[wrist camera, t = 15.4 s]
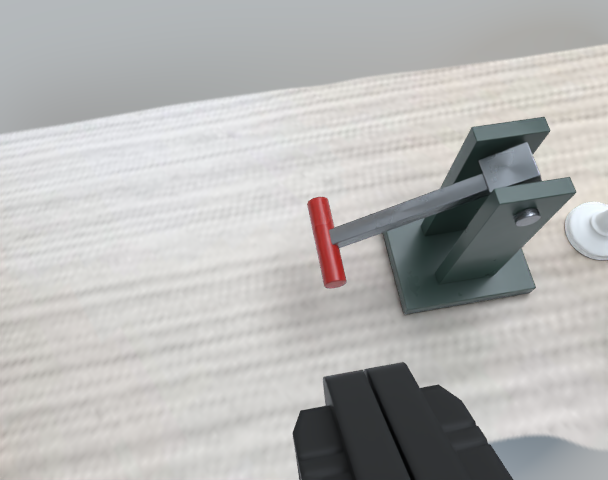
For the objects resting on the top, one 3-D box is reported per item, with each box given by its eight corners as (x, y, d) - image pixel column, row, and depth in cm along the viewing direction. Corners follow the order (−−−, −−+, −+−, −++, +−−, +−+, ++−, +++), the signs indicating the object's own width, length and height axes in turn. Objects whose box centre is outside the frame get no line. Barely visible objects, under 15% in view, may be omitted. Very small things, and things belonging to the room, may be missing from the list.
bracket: (403, 314, 42) (457, 238, 29) (379, 219, 45) (417, 111, 32) (529, 292, 43) (636, 209, 30) (497, 201, 46) (580, 89, 33)
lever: (332, 291, 37) (317, 284, 35) (315, 210, 39) (300, 199, 37) (555, 219, 32) (552, 205, 30) (520, 132, 34) (516, 113, 32)
